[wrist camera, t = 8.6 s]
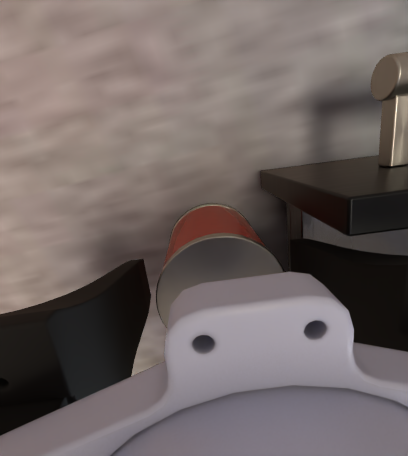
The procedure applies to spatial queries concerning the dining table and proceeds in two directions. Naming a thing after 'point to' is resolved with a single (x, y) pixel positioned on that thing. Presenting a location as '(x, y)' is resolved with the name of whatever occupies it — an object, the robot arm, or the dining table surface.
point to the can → (210, 253)
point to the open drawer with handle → (356, 181)
